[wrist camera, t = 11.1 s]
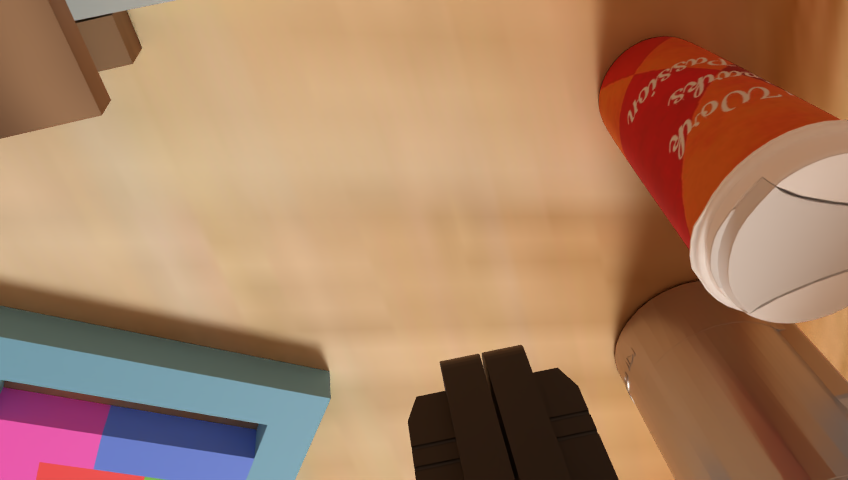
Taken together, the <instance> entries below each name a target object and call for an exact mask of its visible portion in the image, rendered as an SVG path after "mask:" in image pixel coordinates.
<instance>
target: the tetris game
mask: <svg viewBox="0 0 848 480" xmlns="http://www.w3.org/2000/svg"><path fill="white" fill-rule="evenodd" d="M4 380H5V381H11V382H17V383H23V384H29V385H35V386H40V387H46V388H52V389H58V390H64V391H70V392H76V393H82V394H88V395H93V396H99V397H105V398H111V399H117V400H123V401H129V402H135V403H140V404H146V405H152V406H158V407H164V408H170V409H176V410H182V411H188V412H193V413H199V414H205V415H211V416H217V417H223V418H229V419H235V420H241V421H246V422H252V423H258V427H257V429H250V428H244V427H238V426H232V425H226V424H220V423H214V422H208V421H202V420H196V419H190V418H184V417H178V416H172V415H166V414H160V413H154V412H148V411H142V410H136V409H130V408H124V407H119V406H113V405H107V404H101V403H95V402H89V401H83V400H77V399H71V398H65V397H59V396H53V395H47V394H41V393H35V392H29V391H23V390H17V389H11V388H5V387H3V386H4ZM330 399H331V395H330V373H329V371H325V370H320V369H315V368H310V367H305V366H300V365H295V364H290V363H285V362H280V361H275V360H270V359H265V358H260V357H255V356H250V355H245V354H240V353H235V352H230V351H225V350H220V349H215V348H210V347H205V346H200V345H195V344H190V343H185V342H180V341H175V340H170V339H165V338H160V337H155V336H150V335H145V334H140V333H135V332H130V331H125V330H120V329H115V328H110V327H105V326H100V325H94V324H89V323H84V322H79V321H74V320H69V319H64V318H59V317H54V316H49V315H44V314H39V313H34V312H29V311H24V310H19V309H14V308H9V307H4V306H0V480H295V479H296V476H297V474H298V472H299V470H300V467H301V465H302V463H303V460H304V458H305V456H306V454H307V451H308V449H309V447H310V445H311V442H312V440H313V438H314V435H315V433H316V431H317V429H318V426H319V424H320V422H321V419H322V417H323V415H324V413H325V410H326V408H327V406H328V404H329V401H330Z"/></svg>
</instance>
